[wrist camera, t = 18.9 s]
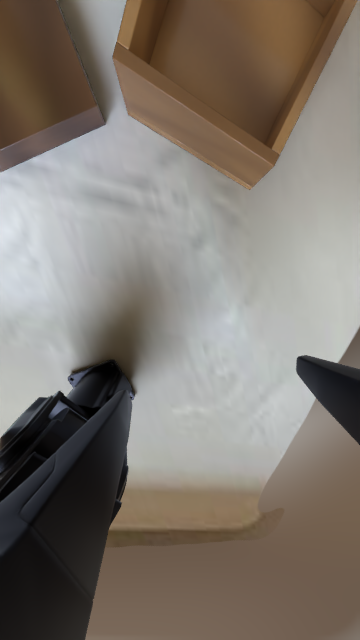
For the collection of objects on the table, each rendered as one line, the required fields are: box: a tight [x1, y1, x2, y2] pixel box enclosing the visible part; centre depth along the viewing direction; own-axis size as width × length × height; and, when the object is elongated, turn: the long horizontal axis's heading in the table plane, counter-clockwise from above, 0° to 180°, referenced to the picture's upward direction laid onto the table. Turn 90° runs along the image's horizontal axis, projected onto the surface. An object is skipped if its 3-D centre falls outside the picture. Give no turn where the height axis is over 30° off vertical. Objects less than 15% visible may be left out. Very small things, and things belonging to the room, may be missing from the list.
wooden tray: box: [113, 0, 358, 190], centre depth 12 cm, size 13×13×4 cm
